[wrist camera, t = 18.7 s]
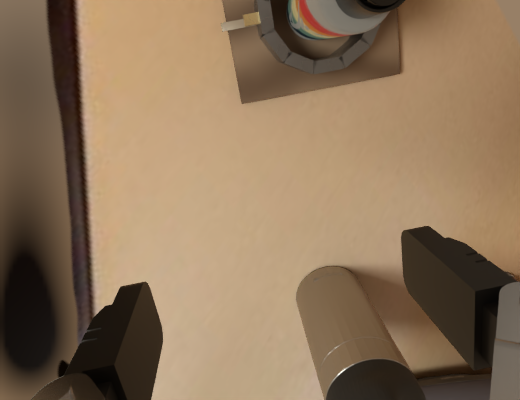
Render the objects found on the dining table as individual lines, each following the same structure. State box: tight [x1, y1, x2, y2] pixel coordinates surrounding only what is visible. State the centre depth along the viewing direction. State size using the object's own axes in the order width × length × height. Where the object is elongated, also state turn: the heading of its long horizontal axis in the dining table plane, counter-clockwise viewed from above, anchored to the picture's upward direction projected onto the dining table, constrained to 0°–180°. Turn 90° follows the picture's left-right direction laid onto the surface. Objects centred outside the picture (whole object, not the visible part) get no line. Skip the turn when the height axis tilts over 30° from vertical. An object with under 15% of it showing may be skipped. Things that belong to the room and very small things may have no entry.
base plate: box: [221, 0, 400, 104], centre depth 41 cm, size 16×19×1 cm
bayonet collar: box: [243, 0, 381, 74], centre depth 38 cm, size 12×15×4 cm
